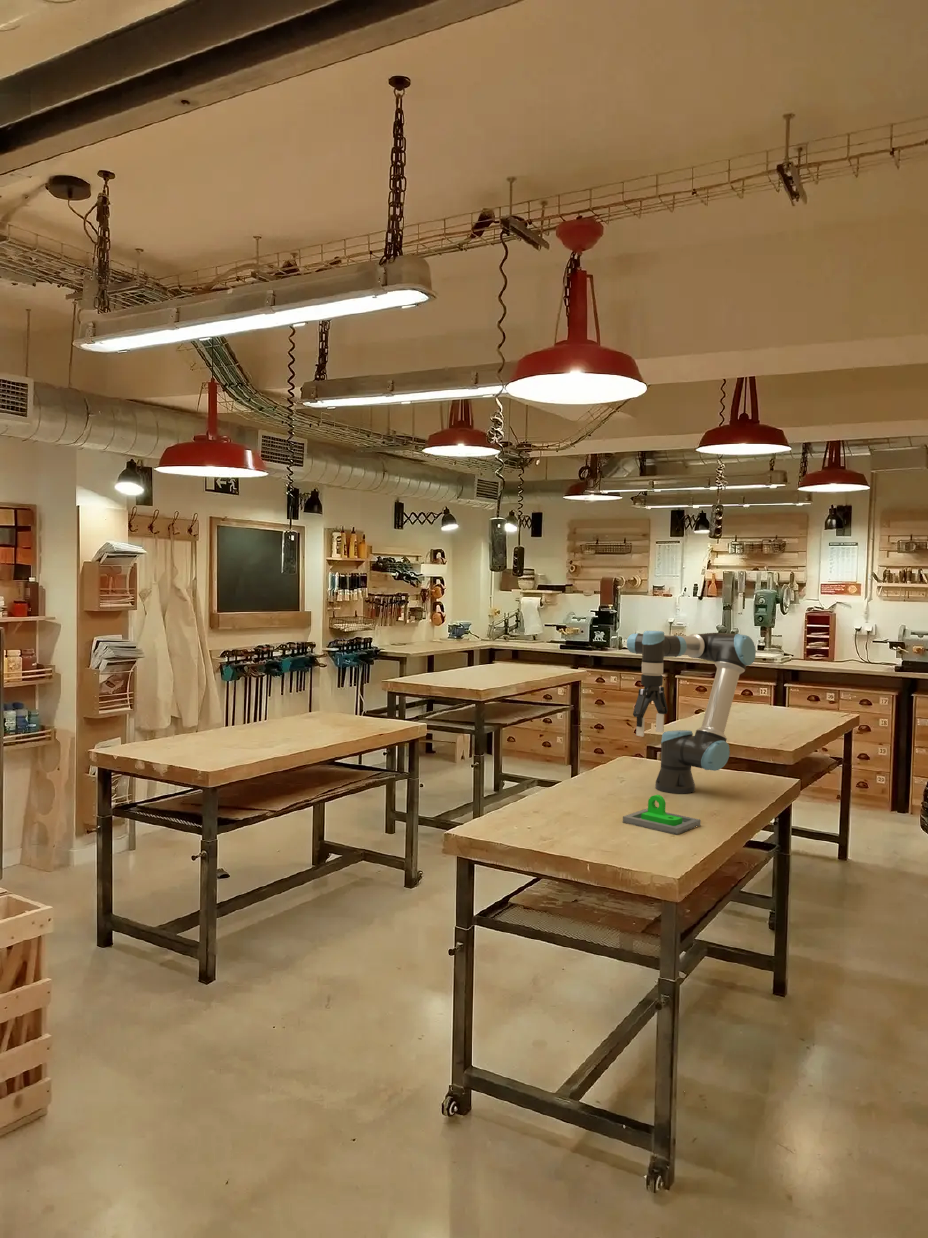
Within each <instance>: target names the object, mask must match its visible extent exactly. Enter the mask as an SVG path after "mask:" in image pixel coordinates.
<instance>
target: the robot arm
mask: <svg viewBox="0 0 928 1238" xmlns="http://www.w3.org/2000/svg"><path fill="white" fill-rule="evenodd" d="M626 648H627V650H628V651H629V652H630V653H631V654H636V655H642V659H641V673H642V674H641V677H640V684H641V686H643V688H639V689H638V693H637V699H636V702H635V706H634V709H633V712H632V716H633V717H634V718H636V729H635V730H636V731H635V733H636V734H635V736H638V737H645V723H646V722H645V719H646V717H644V716H645V714H646V711H647V709H648V707H649V704H650V703H653V704H654V707H655V710H656V711H657V713H656V718H655V732H657V733H662V735H661V741H660V769H659V772H658V774H657V778H656V780H655V789H656V790H657V791H660V792H665V793H670V794H671V793H672V794H692V793H694V792H695V791H696V784H695V780H694V776H693V773H692V767H694V768H698V769H704V770H705V771H714V772H715V771H719V770H720V769H722V768H724V767H725V766H726V764H727V763H728V761H729V758H730V754H731V750H730V745H729V743H728V742H727V739H728V738H727V737H726V734H725V729H726V727H727V722H728V720H729V715H730V712H731V708H732V704H733V701H734V697H735V693H736V690H737V689H736V688H737V686H738V682H739V679H740V675H741V674H743V673H744V672H745V671H746V667H747V666H751V665H752V664H754V662H755V659H756V656H757V655H756V653H757V652H756V646H755V642H754V640H753V639H752V637H750V636H749V635H746V634H740V633H726V632H707V633H706V632H705V633H692V634H689V635H671V634H665V632H664V631H662V630H645V631H644V632H643V633H631V634H630V635H628V637H627V639H626ZM681 656H688V658H692V659H700V660H704V661H708V662H713V663H714V665H715V667H716V672H715V676H714V680H713V683H712V686H711V689H710V694H709V698H708V701H707V705H706V708H705V713H704V715H703V720H702V723H701V727H699V728H697V729H696V730H695V734H693V731H692V730H687V729H686V730H685V729H684V730H681V729H680V730H677V729H676V730H668V731H667V730H666V731H664V728H665V727H664V725H665V715H667V714H668V711H669V708H668V704H667V703H668V702H667V700H666V695H665V687H664V686H663V683H664V682H663V681H664V676H663V674H664V658H673V657H674V658H678V657H681ZM693 791H694V792H693ZM691 792H692V793H691Z"/></svg>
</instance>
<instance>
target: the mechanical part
mask: <svg viewBox="0 0 928 1238" xmlns="http://www.w3.org/2000/svg"><path fill="white" fill-rule="evenodd" d="M656 802H657V803H658V806H656ZM666 805H667V804H666V800H665V798H664V797H663V796H662V795H661V794H654V795H651V796H650V797H649V798H648V801H647V808H648V812H646V813H642V814H641V819H644V820H649V821H653V822H658V823H662V824H667V825H671V826H677V825H679V824H682V818H681V817H676V816H672V815H668V814H666V812H667V811H666Z"/></svg>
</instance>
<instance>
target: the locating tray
mask: <svg viewBox="0 0 928 1238" xmlns="http://www.w3.org/2000/svg"><path fill="white" fill-rule="evenodd" d="M646 812H648V807H647V808H644V809H642V810H638V811H636V812H633V813H630V814H626V815H624V816H622V823H625V824H628V825H631V826H632V825H633V826H636V827H641V828H645V829H649V830H655V831H658V832H663V833H667V834H671V835H672V834H673V835H677V836H678V835H681V834H683V833H685V832H687V831H688V832H689V831H690V829H691V830H692V828H693V829H695V828H694V827H696V826H698V827H701V824H702V823H701V821H702V819H699V818H694V817H690V816H685V815H680V814H676V813H672V812H671V813H670V812H667V811H665V812H666V814H668V815H672V816H676V817H681V818H682V824H679V825H677V826H671V825H667V824H662V823H658V822H653V821H649V820H644V819H641V814H642V813H646ZM696 828H697V827H696ZM680 833H681V834H680Z"/></svg>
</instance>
